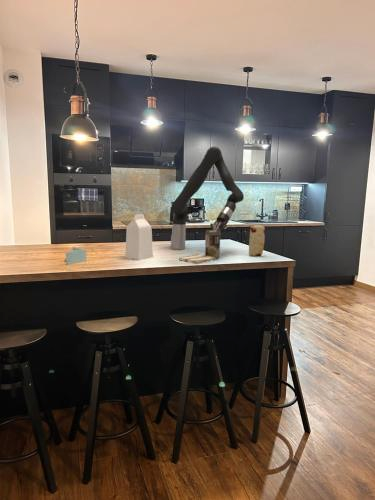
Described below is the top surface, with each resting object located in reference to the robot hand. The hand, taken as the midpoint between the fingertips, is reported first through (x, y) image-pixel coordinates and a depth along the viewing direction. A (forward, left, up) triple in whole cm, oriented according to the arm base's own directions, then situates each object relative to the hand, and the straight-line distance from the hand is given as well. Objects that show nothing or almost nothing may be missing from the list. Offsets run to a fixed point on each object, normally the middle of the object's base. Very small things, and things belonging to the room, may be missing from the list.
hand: (212, 236), depth 220 cm
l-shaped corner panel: (-45, -71, -14) cm, 85 cm away
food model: (+17, +25, -13) cm, 33 cm away
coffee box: (0, +1, -12) cm, 12 cm away
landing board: (0, -14, -13) cm, 19 cm away
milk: (-28, -35, -13) cm, 47 cm away
